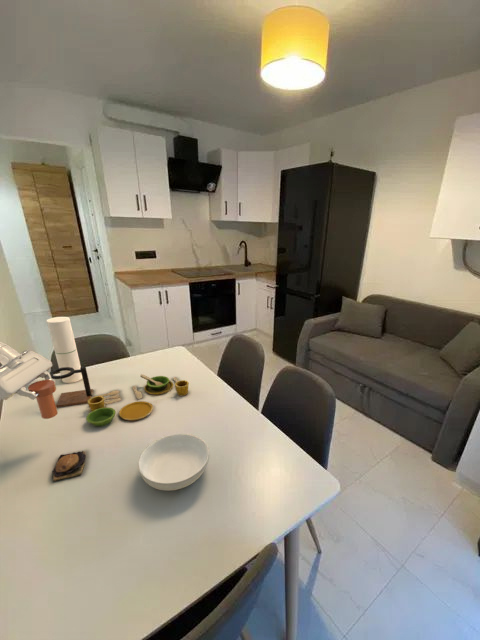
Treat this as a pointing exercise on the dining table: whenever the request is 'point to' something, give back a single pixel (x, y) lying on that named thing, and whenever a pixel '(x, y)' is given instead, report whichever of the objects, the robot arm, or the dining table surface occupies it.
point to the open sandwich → (69, 465)
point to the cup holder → (75, 396)
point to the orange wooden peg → (45, 397)
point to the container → (64, 346)
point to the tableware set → (135, 409)
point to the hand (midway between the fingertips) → (45, 390)
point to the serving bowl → (173, 461)
